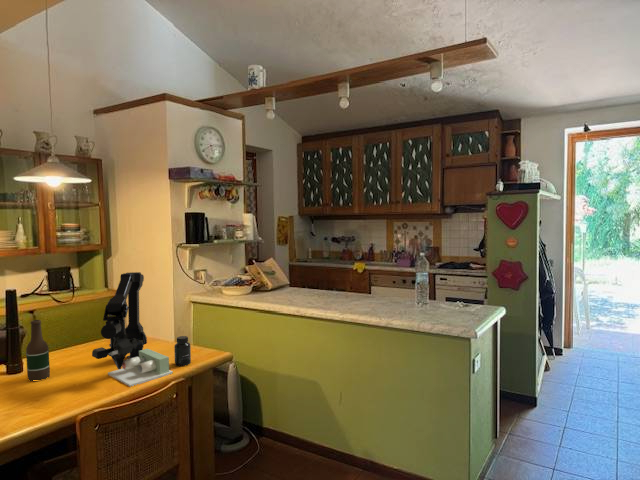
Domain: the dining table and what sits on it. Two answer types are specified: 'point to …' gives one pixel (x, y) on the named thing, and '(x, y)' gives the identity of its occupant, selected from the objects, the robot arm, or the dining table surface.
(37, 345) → the beer bottle
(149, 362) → the knob
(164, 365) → the mount
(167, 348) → the dining table surface
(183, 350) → the supplement bottle
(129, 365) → the knob
